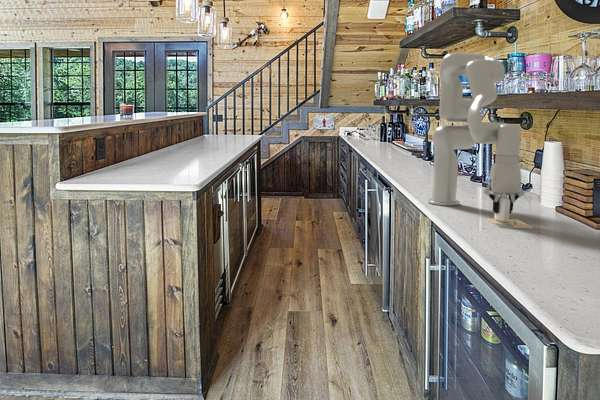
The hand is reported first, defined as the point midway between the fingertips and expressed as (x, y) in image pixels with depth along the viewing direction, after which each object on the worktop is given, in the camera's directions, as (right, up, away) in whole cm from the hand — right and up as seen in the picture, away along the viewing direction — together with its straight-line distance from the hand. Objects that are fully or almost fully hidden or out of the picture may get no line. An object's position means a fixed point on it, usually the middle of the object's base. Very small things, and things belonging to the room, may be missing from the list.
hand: (502, 212), depth 207 cm
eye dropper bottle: (0, -3, +1) cm, 3 cm away
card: (+1, -4, -3) cm, 5 cm away
